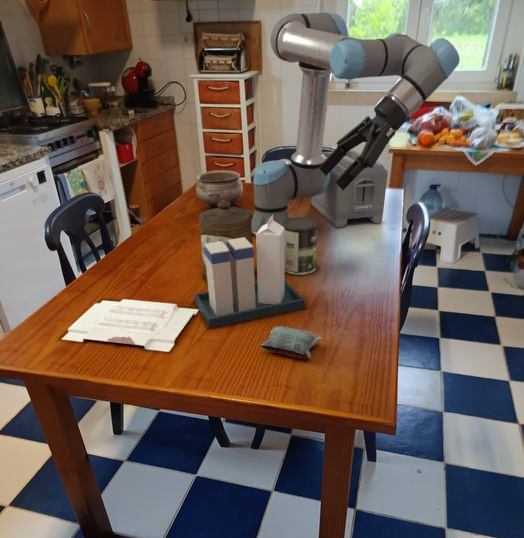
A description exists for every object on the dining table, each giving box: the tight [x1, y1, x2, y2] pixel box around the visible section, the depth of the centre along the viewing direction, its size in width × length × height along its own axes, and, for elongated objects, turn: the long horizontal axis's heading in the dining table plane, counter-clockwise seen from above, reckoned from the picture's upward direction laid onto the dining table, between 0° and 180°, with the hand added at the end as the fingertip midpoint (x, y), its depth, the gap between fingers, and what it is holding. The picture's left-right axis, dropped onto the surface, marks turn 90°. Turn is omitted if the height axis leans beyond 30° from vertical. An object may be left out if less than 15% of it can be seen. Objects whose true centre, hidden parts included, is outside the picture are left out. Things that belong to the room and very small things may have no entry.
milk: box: [255, 215, 286, 304], centre depth 124 cm, size 6×6×22 cm
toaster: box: [310, 149, 389, 229], centre depth 182 cm, size 19×33×20 cm, turn 14°
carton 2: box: [227, 237, 256, 311], centre depth 123 cm, size 7×5×17 cm
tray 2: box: [61, 298, 199, 353], centre depth 121 cm, size 20×28×4 cm
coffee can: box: [282, 216, 319, 276], centre depth 143 cm, size 10×10×14 cm
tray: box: [193, 279, 306, 329], centre depth 127 cm, size 15×26×3 cm, turn 111°
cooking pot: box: [195, 169, 244, 209], centre depth 198 cm, size 25×19×12 cm
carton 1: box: [204, 241, 234, 316], centre depth 121 cm, size 7×5×17 cm
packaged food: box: [260, 325, 323, 359], centre depth 109 cm, size 9×12×5 cm
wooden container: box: [198, 200, 254, 281], centre depth 138 cm, size 15×15×22 cm
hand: (330, 178), depth 117 cm, fingers open, 13 cm apart
